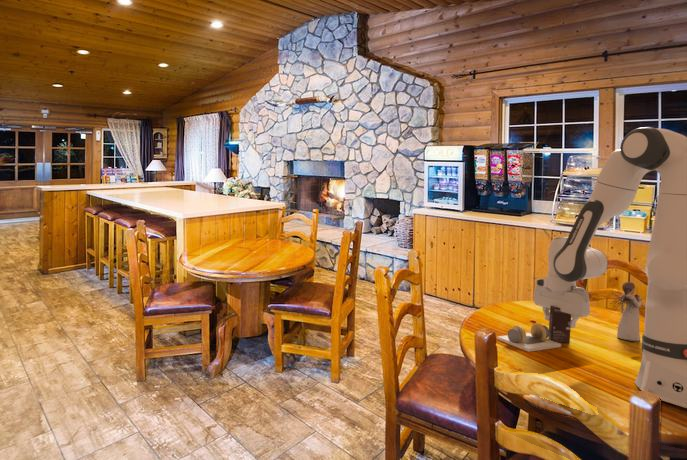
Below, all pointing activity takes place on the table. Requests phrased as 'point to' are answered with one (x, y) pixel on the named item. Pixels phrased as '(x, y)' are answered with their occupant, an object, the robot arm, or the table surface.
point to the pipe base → (529, 338)
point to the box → (559, 325)
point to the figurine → (629, 313)
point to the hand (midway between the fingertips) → (559, 323)
